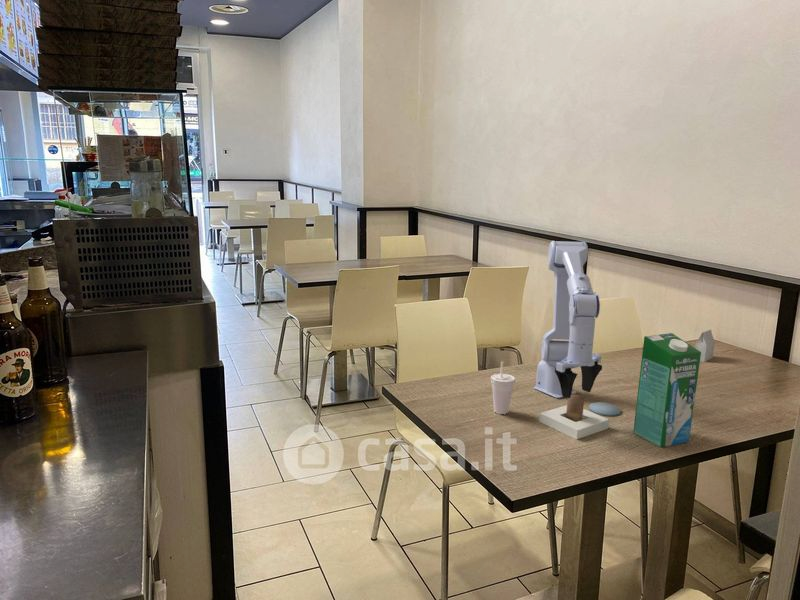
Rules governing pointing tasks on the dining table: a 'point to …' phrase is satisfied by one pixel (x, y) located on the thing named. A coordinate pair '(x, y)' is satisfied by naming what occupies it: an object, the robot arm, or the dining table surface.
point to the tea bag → (705, 345)
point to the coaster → (604, 409)
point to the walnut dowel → (575, 408)
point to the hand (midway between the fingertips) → (576, 393)
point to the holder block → (574, 429)
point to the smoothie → (502, 391)
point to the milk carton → (666, 390)
